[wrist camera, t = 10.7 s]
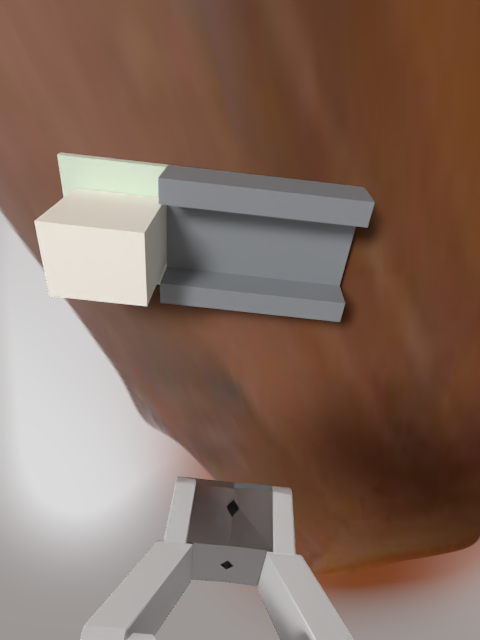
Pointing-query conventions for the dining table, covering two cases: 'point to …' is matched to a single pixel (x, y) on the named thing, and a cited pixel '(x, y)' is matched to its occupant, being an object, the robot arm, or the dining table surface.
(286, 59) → the dining table surface
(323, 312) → the chute
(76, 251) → the block
